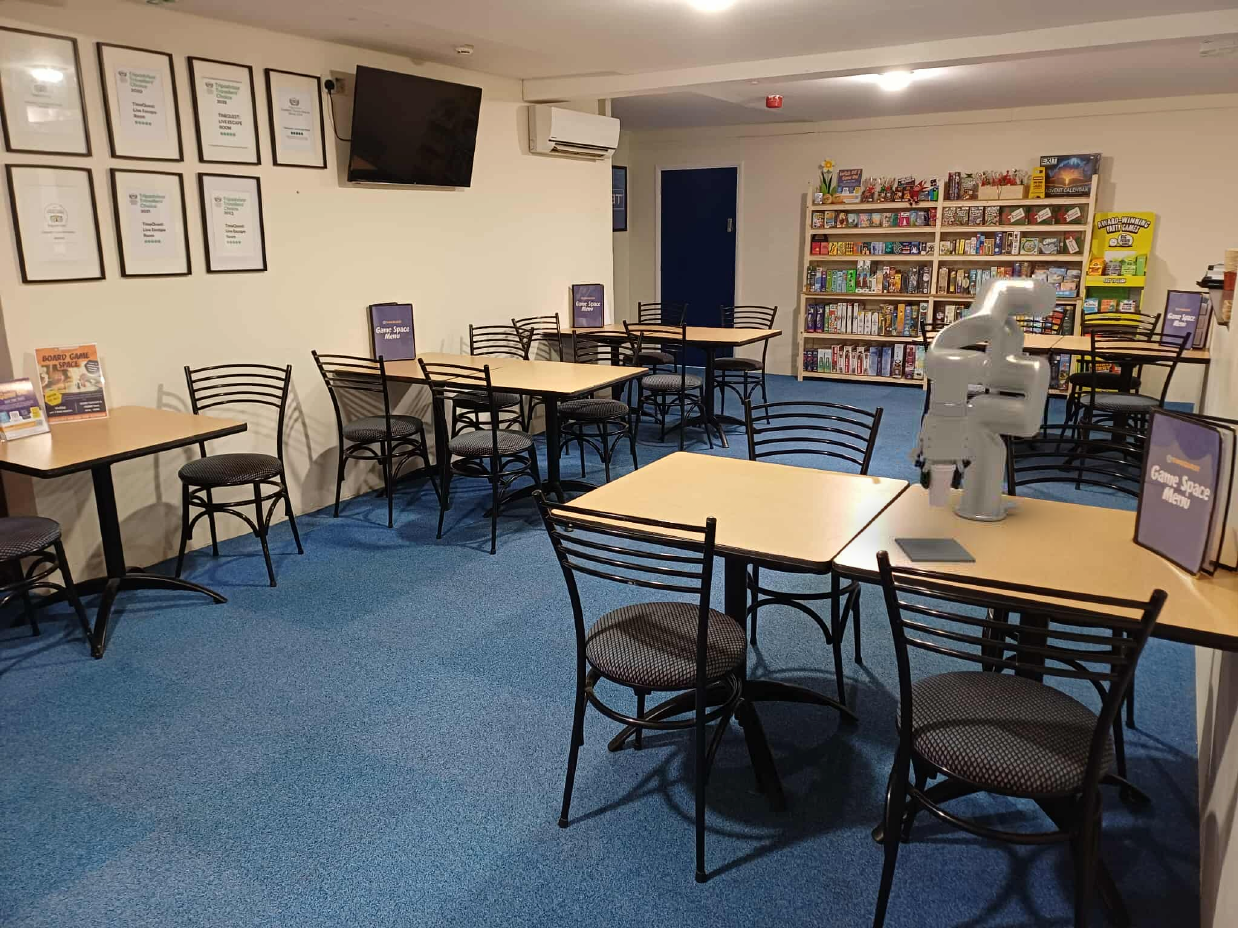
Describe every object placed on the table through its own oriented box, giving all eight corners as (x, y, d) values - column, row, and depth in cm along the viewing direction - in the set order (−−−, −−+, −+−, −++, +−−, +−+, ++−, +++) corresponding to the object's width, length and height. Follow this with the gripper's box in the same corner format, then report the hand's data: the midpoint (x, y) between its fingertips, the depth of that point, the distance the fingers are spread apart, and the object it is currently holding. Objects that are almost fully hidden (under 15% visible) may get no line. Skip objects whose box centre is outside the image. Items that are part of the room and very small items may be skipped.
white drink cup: (918, 500, 200) (923, 441, 196) (945, 499, 200) (950, 440, 197) (930, 508, 194) (935, 448, 190) (958, 507, 194) (963, 447, 191)
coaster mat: (953, 540, 206) (953, 538, 206) (975, 562, 193) (975, 559, 193) (894, 540, 207) (894, 538, 207) (912, 561, 193) (912, 559, 193)
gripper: (980, 407, 195) (971, 483, 199) (903, 406, 195) (896, 483, 200) (993, 413, 188) (984, 492, 192) (913, 412, 188) (906, 492, 192)
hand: (939, 487), depth 196 cm, fingers closed on white drink cup, 6 cm apart
